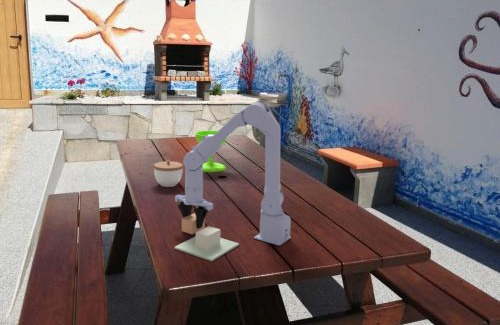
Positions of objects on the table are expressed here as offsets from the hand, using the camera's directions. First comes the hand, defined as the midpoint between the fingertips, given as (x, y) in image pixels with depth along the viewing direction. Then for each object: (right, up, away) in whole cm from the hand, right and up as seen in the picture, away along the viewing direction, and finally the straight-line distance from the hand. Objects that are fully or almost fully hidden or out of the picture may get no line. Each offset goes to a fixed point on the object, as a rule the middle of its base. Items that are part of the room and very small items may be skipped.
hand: (193, 225), depth 150 cm
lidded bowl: (-17, +11, +50) cm, 54 cm away
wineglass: (-2, +18, +82) cm, 84 cm away
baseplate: (+6, -5, -12) cm, 14 cm away
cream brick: (+6, -4, -12) cm, 14 cm away
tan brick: (0, -1, 0) cm, 1 cm away
